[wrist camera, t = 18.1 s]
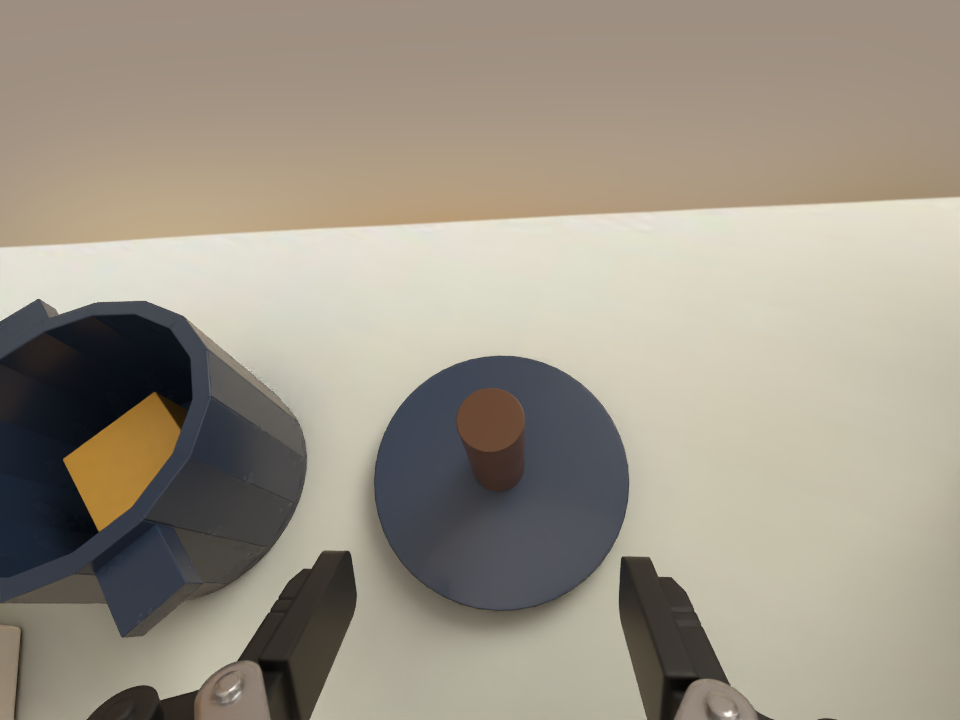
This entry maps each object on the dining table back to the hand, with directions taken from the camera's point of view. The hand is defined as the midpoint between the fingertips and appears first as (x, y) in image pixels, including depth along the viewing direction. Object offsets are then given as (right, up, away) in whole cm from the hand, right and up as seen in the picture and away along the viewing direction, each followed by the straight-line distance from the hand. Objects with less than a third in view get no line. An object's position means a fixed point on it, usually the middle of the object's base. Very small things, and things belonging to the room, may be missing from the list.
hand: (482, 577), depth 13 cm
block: (-17, -1, +13) cm, 21 cm away
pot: (-17, -1, +13) cm, 21 cm away
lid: (+1, 0, +12) cm, 12 cm away
